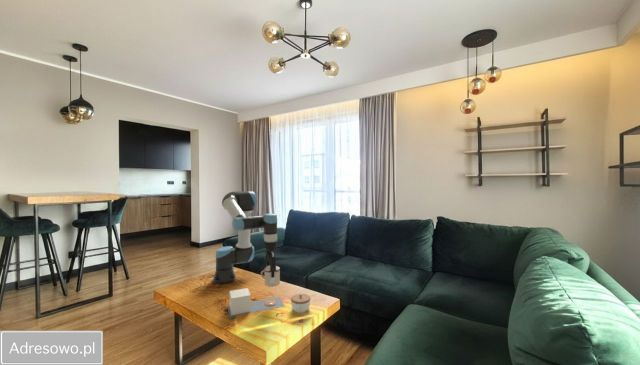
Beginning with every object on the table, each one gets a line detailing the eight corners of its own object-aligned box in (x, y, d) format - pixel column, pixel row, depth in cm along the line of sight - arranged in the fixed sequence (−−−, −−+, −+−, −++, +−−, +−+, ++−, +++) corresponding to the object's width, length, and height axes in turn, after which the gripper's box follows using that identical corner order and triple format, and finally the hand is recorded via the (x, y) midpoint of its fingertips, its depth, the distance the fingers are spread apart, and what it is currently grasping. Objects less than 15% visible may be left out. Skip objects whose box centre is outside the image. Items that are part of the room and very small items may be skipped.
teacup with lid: (283, 282, 155) (283, 262, 155) (275, 288, 146) (275, 267, 146) (265, 279, 159) (265, 260, 159) (256, 285, 151) (256, 264, 151)
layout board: (227, 308, 149) (227, 305, 149) (279, 298, 161) (279, 296, 161) (229, 319, 137) (229, 316, 137) (285, 308, 149) (285, 305, 149)
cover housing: (229, 306, 148) (229, 290, 148) (247, 303, 152) (247, 288, 152) (231, 315, 139) (231, 298, 139) (250, 311, 143) (250, 295, 143)
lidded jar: (287, 311, 146) (287, 294, 146) (301, 304, 153) (301, 288, 153) (299, 318, 138) (299, 300, 138) (314, 311, 146) (314, 294, 145)
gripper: (260, 237, 160) (260, 274, 160) (268, 245, 140) (268, 287, 140) (272, 236, 163) (272, 272, 163) (281, 244, 143) (281, 285, 143)
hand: (270, 279), depth 152 cm, fingers closed on teacup with lid, 9 cm apart
